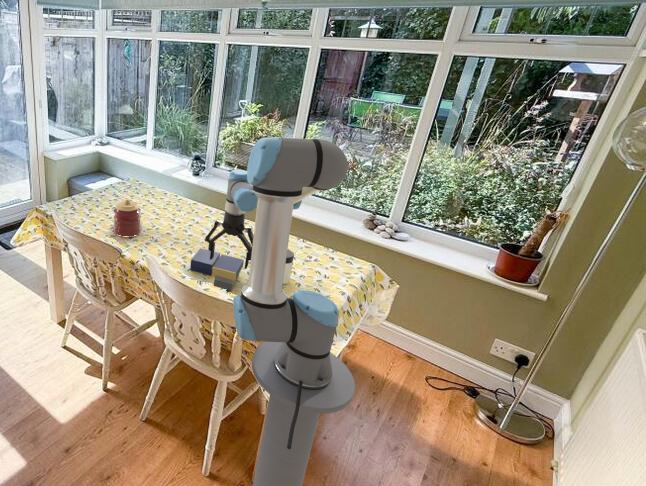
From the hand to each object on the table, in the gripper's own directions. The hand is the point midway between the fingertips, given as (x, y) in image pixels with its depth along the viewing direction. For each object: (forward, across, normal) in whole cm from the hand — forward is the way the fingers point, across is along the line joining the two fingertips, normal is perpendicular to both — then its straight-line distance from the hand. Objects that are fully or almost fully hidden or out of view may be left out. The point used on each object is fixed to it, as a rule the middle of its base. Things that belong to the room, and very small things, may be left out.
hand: (228, 262), depth 159 cm
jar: (+8, -18, -12) cm, 23 cm away
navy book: (+3, 0, 0) cm, 3 cm away
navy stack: (+8, +11, -7) cm, 15 cm away
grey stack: (+8, 0, 0) cm, 8 cm away
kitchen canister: (+9, +55, -20) cm, 59 cm away
